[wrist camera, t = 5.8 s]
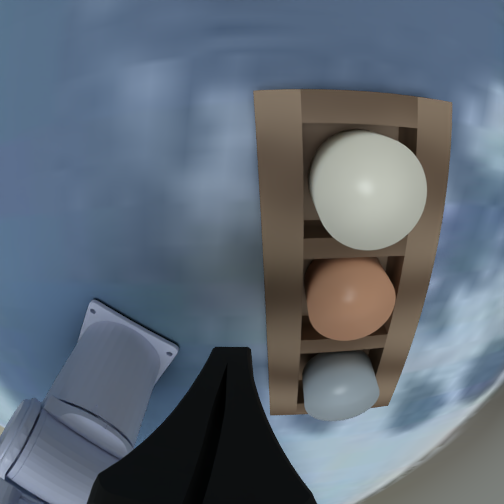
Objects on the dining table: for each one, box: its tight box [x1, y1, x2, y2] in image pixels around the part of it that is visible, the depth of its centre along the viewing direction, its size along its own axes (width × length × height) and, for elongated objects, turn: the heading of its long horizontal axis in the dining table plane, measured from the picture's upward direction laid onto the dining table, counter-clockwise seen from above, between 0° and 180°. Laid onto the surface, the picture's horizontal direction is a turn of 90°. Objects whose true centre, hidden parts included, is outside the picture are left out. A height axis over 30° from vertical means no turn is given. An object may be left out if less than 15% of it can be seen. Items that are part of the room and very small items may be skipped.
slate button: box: [302, 350, 379, 421], centre depth 20 cm, size 5×5×3 cm
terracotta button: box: [304, 257, 396, 341], centre depth 19 cm, size 5×5×3 cm
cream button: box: [308, 129, 427, 250], centre depth 14 cm, size 5×5×3 cm
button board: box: [253, 89, 452, 415], centre depth 19 cm, size 23×10×3 cm, turn 4°
